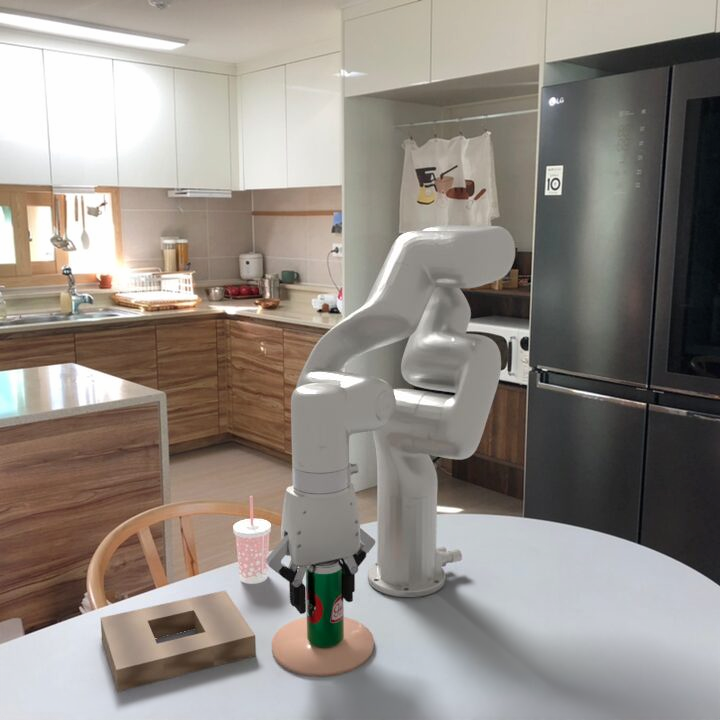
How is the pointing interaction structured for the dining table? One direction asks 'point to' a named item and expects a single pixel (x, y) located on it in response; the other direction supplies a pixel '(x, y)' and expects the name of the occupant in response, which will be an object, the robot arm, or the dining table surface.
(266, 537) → the beverage cup
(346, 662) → the peach domed disc
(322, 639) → the soda can
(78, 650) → the dining table surface
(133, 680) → the pocket board
